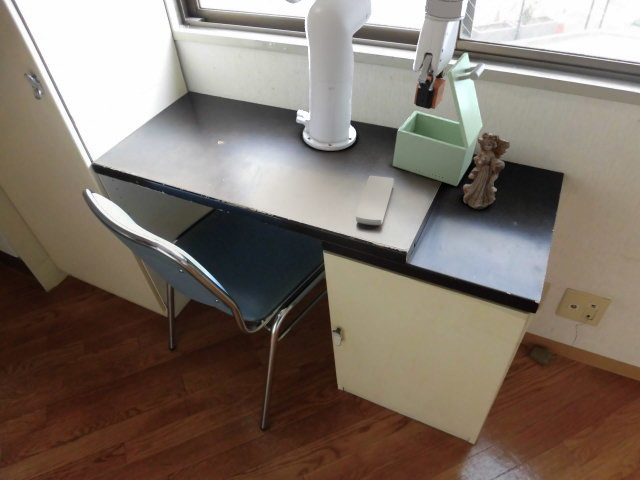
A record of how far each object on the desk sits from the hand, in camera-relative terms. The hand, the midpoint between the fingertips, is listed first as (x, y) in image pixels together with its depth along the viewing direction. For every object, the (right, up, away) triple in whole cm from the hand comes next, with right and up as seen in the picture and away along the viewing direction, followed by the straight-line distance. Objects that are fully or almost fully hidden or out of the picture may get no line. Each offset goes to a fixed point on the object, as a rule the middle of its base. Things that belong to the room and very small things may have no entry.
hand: (427, 100), depth 96 cm
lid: (+6, -1, -4) cm, 7 cm away
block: (0, 0, 0) cm, 0 cm away
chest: (+3, -12, +9) cm, 15 cm away
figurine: (+9, -20, 0) cm, 23 cm away
